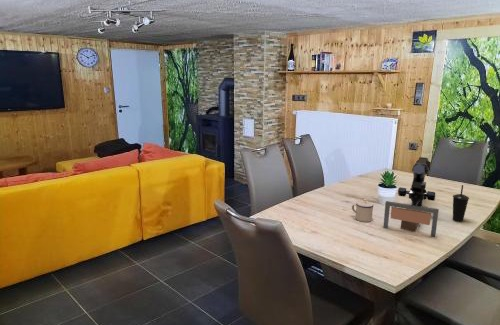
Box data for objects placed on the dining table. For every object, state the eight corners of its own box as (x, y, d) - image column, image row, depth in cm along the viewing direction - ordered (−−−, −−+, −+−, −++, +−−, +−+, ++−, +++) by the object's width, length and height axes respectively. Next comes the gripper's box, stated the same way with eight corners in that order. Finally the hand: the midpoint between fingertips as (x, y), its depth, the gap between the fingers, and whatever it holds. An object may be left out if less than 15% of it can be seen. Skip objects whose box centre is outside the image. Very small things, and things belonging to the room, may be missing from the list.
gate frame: (384, 226, 184) (386, 201, 181) (435, 235, 172) (438, 209, 169) (383, 227, 182) (385, 202, 179) (435, 237, 170) (438, 210, 167)
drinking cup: (460, 224, 186) (465, 188, 182) (446, 219, 193) (451, 184, 188) (469, 221, 190) (474, 186, 185) (455, 216, 196) (459, 182, 192)
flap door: (390, 217, 181) (391, 206, 180) (429, 224, 172) (431, 213, 171) (390, 218, 180) (391, 207, 179) (429, 225, 171) (430, 213, 170)
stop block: (406, 220, 192) (407, 206, 191) (420, 223, 189) (421, 208, 187) (400, 228, 181) (402, 214, 179) (415, 232, 177) (416, 217, 176)
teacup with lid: (375, 219, 194) (377, 199, 191) (367, 223, 188) (368, 203, 185) (355, 213, 202) (357, 194, 200) (347, 217, 196) (348, 197, 194)
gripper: (400, 173, 198) (395, 197, 191) (437, 178, 189) (433, 203, 182) (400, 183, 206) (396, 207, 200) (436, 188, 197) (432, 212, 190)
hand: (414, 207), depth 193 cm, fingers closed
